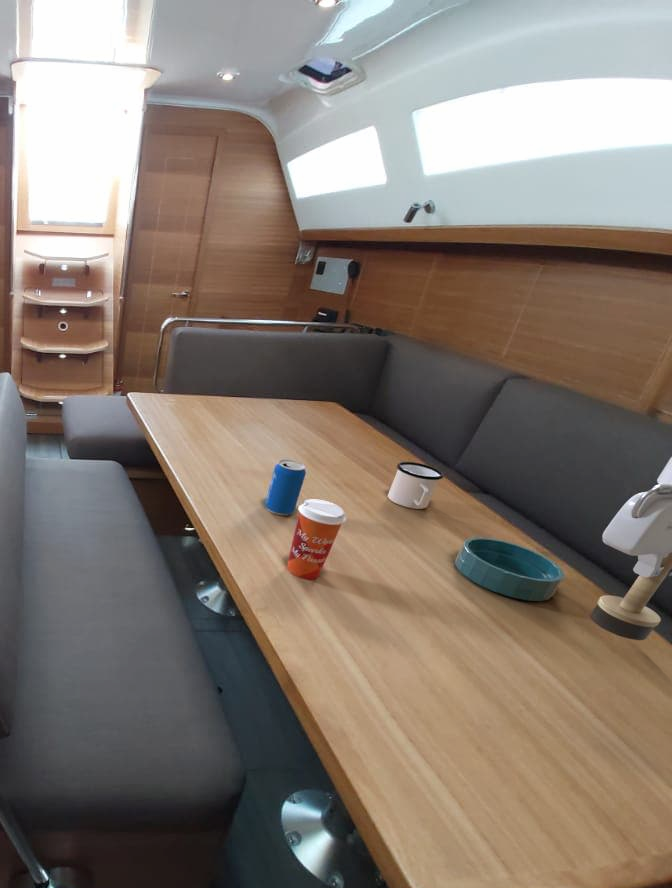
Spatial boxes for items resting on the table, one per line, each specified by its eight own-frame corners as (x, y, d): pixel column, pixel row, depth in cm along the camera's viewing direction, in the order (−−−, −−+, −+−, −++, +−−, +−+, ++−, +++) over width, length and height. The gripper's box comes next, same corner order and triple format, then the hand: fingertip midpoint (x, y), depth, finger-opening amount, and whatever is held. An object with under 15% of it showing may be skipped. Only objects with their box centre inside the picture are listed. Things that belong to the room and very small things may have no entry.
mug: (380, 490, 131) (392, 459, 127) (421, 496, 128) (435, 464, 124) (394, 511, 120) (408, 477, 116) (439, 518, 118) (455, 484, 114)
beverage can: (260, 502, 122) (272, 457, 117) (288, 505, 121) (301, 460, 116) (268, 515, 116) (281, 468, 111) (297, 518, 115) (311, 471, 110)
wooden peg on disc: (630, 618, 72) (688, 535, 66) (659, 645, 67) (724, 558, 61) (579, 608, 74) (631, 526, 68) (603, 633, 69) (662, 548, 63)
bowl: (528, 568, 100) (540, 547, 98) (567, 612, 88) (582, 589, 86) (443, 551, 105) (453, 531, 102) (469, 591, 92) (481, 569, 90)
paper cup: (280, 575, 95) (300, 511, 89) (281, 555, 101) (300, 494, 95) (326, 587, 92) (350, 522, 86) (324, 566, 98) (346, 503, 92)
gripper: (685, 497, 56) (620, 594, 62) (819, 488, 59) (745, 582, 65) (618, 474, 62) (564, 565, 68) (744, 467, 65) (682, 555, 71)
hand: (654, 573), depth 67 cm, fingers closed on wooden peg on disc
